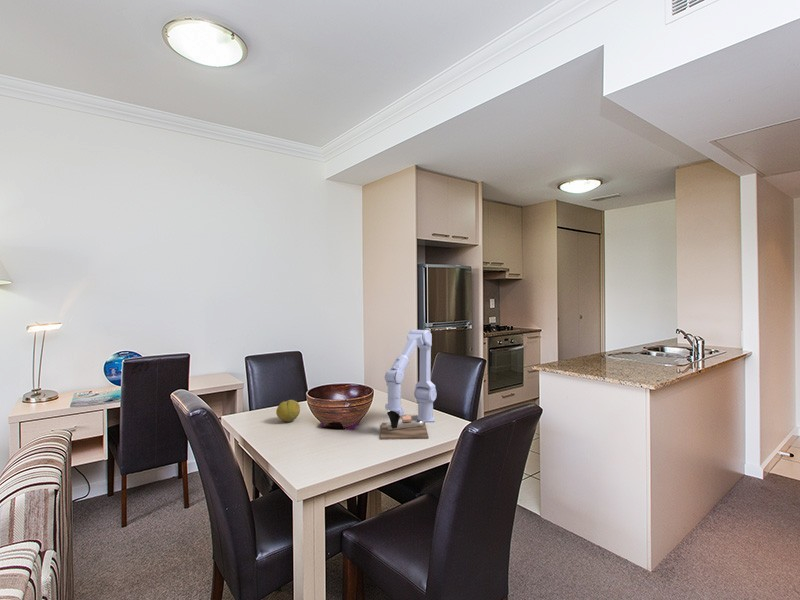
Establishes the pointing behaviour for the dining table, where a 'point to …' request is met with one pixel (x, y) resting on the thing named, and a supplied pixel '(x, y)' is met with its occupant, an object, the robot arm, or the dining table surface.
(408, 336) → the robot arm
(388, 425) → the link
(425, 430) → the base plate
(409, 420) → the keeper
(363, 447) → the dining table surface
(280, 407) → the fruit
